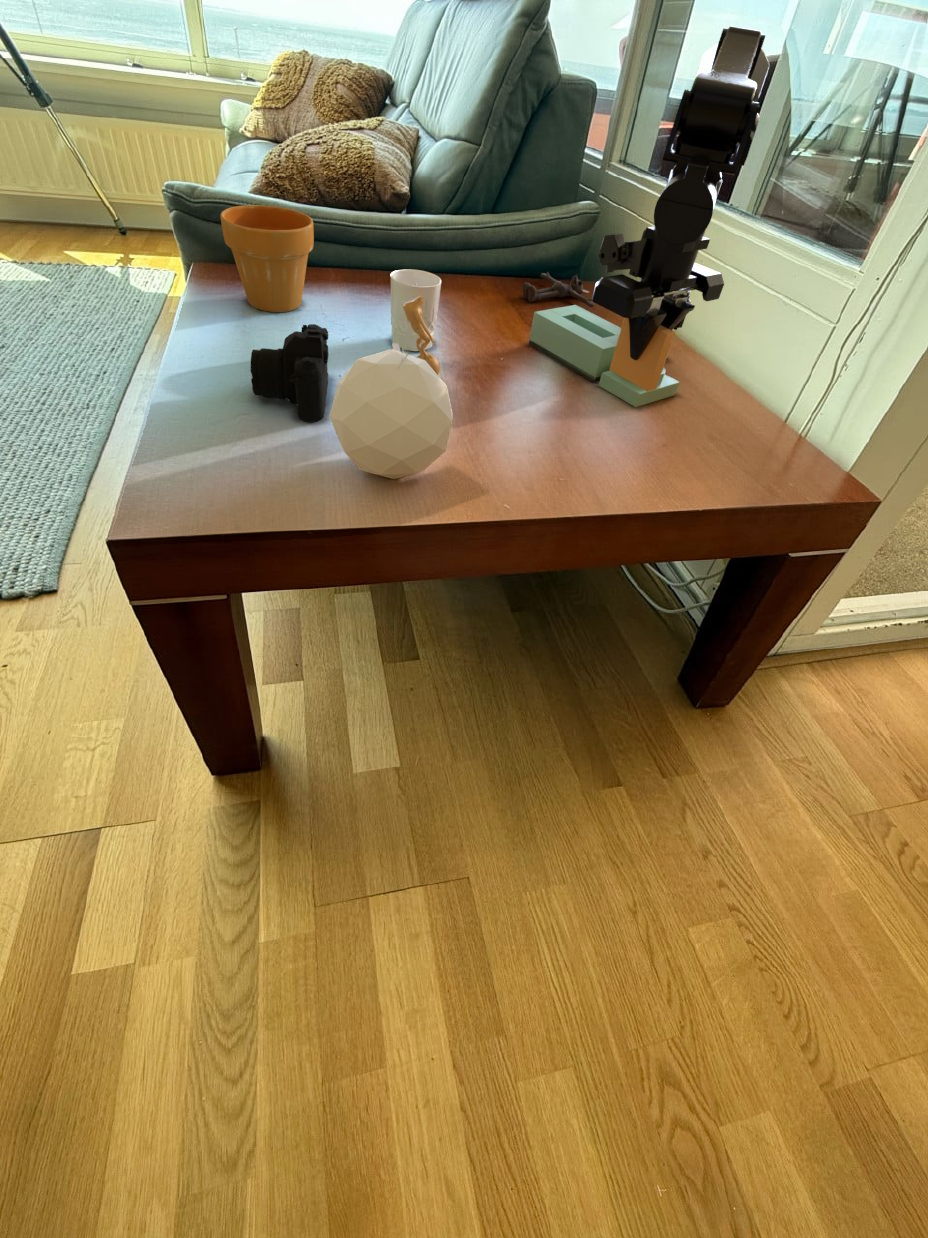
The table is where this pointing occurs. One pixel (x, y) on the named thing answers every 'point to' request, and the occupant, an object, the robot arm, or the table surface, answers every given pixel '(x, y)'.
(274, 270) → the flower pot
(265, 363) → the film camera
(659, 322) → the robot arm
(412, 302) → the figurine
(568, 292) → the brown humanoid figure
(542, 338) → the toaster
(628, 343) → the toast
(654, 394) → the control block
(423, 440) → the geodesic sphere
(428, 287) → the white cup
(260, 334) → the table surface
